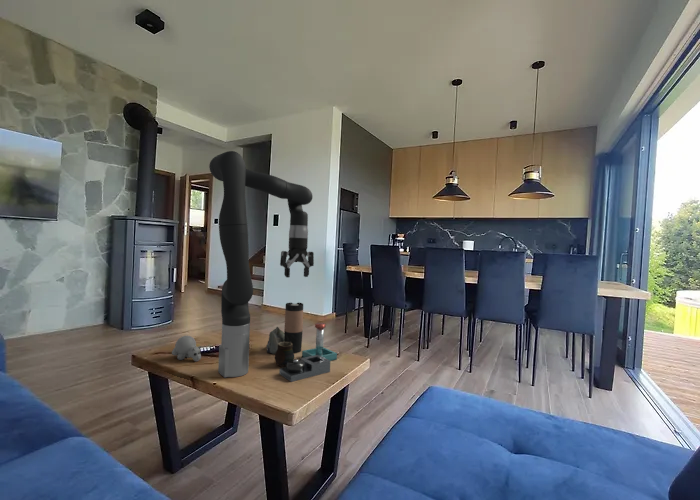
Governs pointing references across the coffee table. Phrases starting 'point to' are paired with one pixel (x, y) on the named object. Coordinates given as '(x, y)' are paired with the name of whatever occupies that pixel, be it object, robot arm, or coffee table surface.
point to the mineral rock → (274, 340)
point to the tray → (326, 354)
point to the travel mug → (294, 325)
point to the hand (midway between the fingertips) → (296, 277)
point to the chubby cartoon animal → (187, 348)
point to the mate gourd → (284, 353)
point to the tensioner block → (305, 368)
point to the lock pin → (319, 338)
